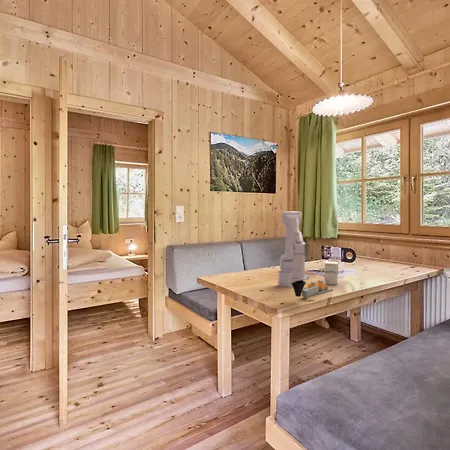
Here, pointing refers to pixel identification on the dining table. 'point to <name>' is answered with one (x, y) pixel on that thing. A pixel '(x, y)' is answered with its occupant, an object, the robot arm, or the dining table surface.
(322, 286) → the orange knob block
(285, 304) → the dining table surface
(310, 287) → the block
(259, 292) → the dining table surface
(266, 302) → the dining table surface
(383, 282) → the dining table surface
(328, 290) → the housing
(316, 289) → the cover bar
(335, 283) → the supplement box
